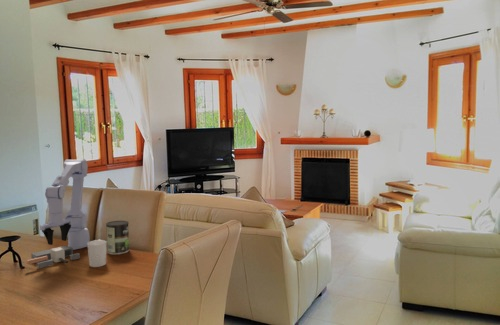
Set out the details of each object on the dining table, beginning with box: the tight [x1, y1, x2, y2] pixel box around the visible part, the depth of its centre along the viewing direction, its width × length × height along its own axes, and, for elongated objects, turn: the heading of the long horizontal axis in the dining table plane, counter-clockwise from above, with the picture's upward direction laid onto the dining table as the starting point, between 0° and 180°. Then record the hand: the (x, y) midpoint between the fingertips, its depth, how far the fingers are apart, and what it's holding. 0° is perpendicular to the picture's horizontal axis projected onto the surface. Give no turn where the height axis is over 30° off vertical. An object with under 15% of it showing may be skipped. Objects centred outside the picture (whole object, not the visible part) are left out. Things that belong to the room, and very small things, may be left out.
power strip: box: [30, 244, 81, 270], centre depth 181 cm, size 18×13×4 cm
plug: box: [50, 246, 69, 264], centre depth 178 cm, size 5×11×5 cm, turn 49°
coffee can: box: [105, 220, 130, 256], centre depth 193 cm, size 10×10×14 cm
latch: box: [26, 256, 48, 265], centre depth 170 cm, size 8×1×2 cm, turn 139°
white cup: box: [87, 239, 107, 268], centre depth 174 cm, size 8×8×10 cm
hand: (57, 242), depth 179 cm, fingers open, 6 cm apart
